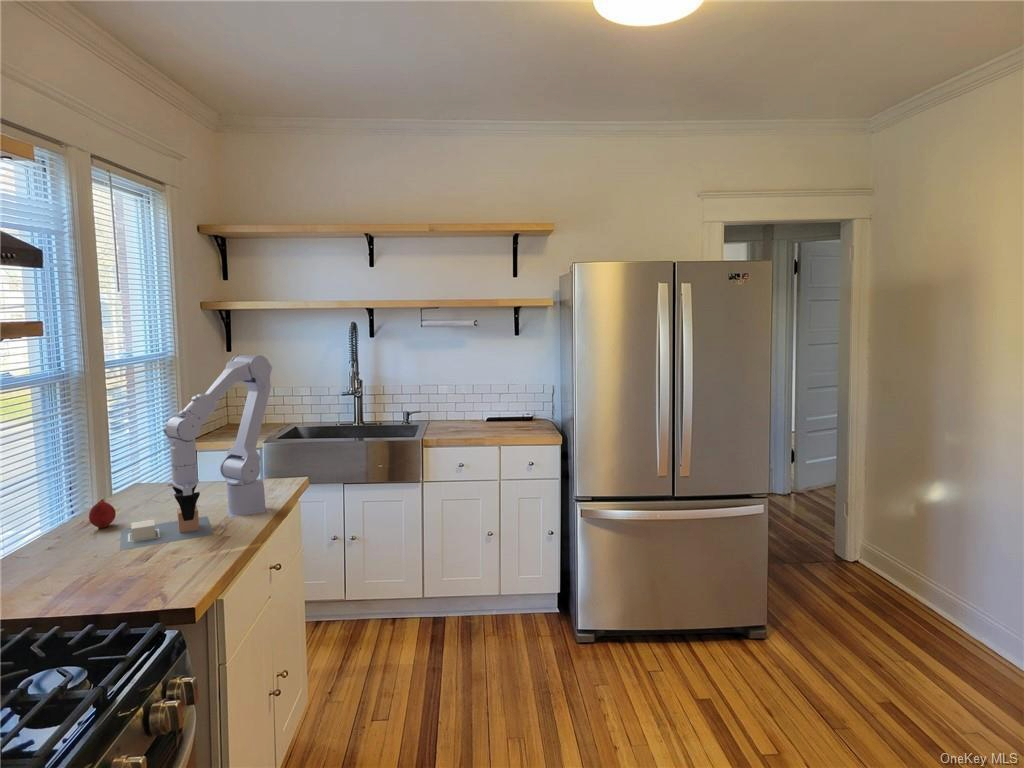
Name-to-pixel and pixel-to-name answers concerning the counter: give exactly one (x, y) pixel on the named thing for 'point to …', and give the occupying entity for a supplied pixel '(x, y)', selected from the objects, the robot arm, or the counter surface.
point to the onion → (102, 514)
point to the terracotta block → (188, 522)
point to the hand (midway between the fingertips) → (187, 515)
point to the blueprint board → (159, 533)
